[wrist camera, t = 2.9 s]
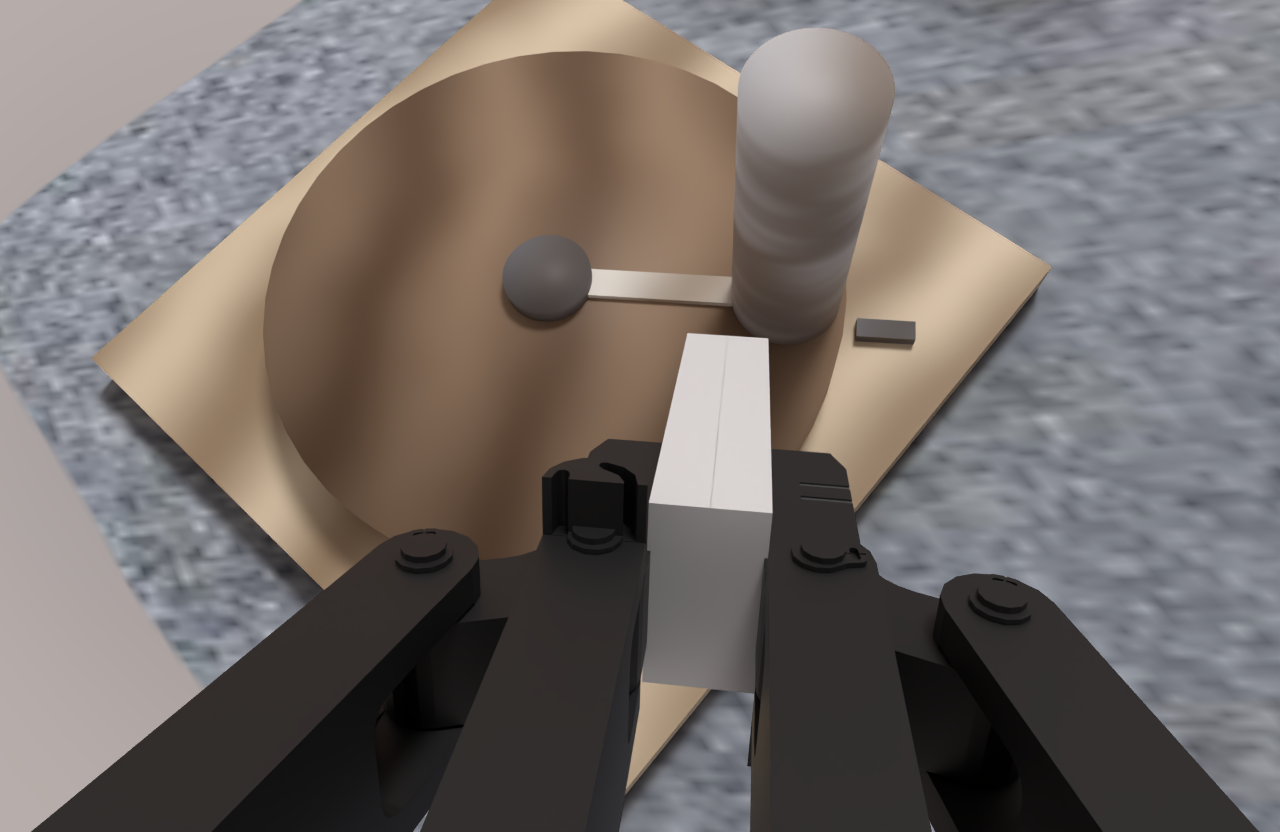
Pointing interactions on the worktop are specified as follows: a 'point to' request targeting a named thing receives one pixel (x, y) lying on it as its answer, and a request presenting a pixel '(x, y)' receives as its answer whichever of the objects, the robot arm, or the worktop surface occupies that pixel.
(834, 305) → the dial
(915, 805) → the robot arm
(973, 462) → the worktop surface
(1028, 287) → the stand plate
